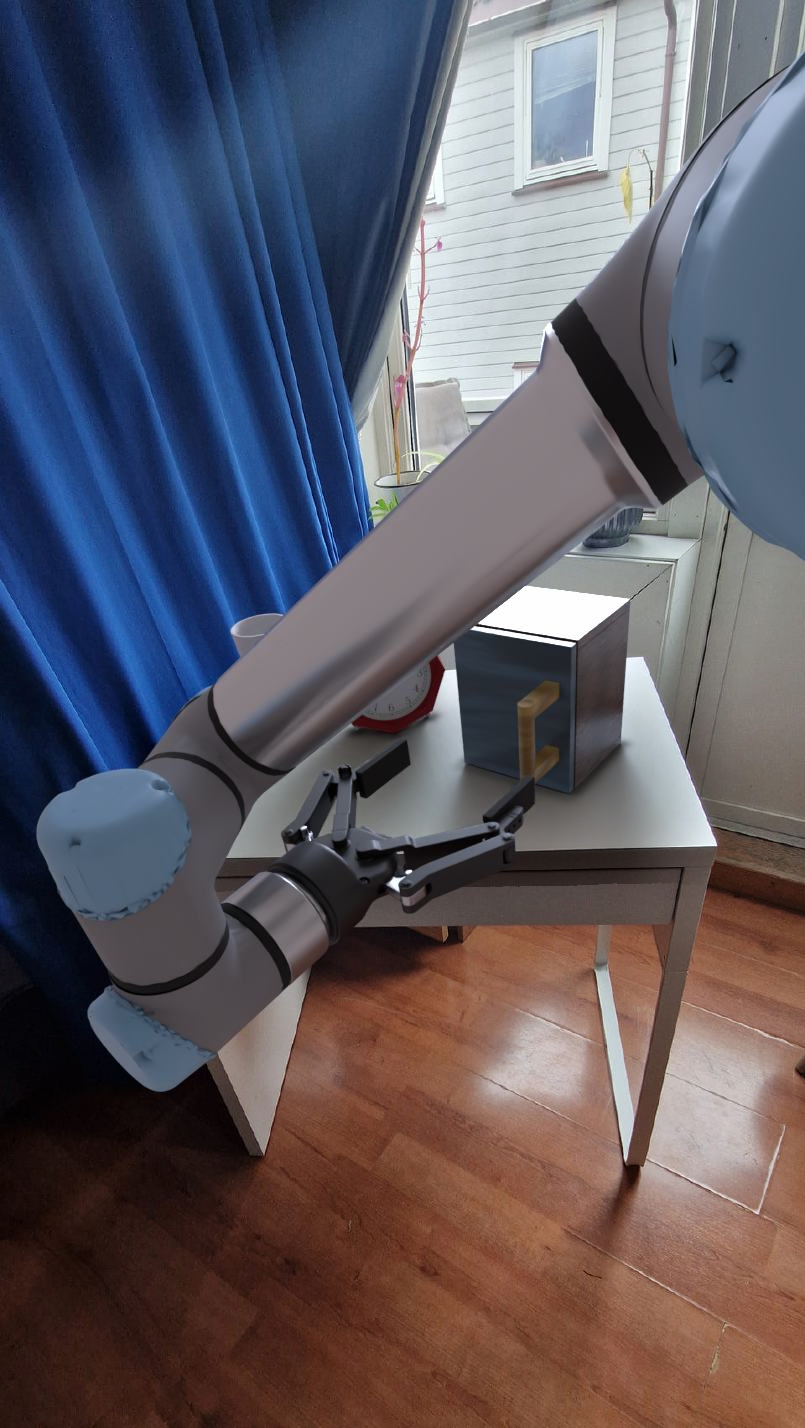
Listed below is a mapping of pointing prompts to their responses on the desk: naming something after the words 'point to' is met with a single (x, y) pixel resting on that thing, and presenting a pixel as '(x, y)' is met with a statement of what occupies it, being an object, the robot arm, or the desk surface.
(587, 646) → the cupboard
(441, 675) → the alarm clock
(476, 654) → the door
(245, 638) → the cup
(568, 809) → the desk surface
